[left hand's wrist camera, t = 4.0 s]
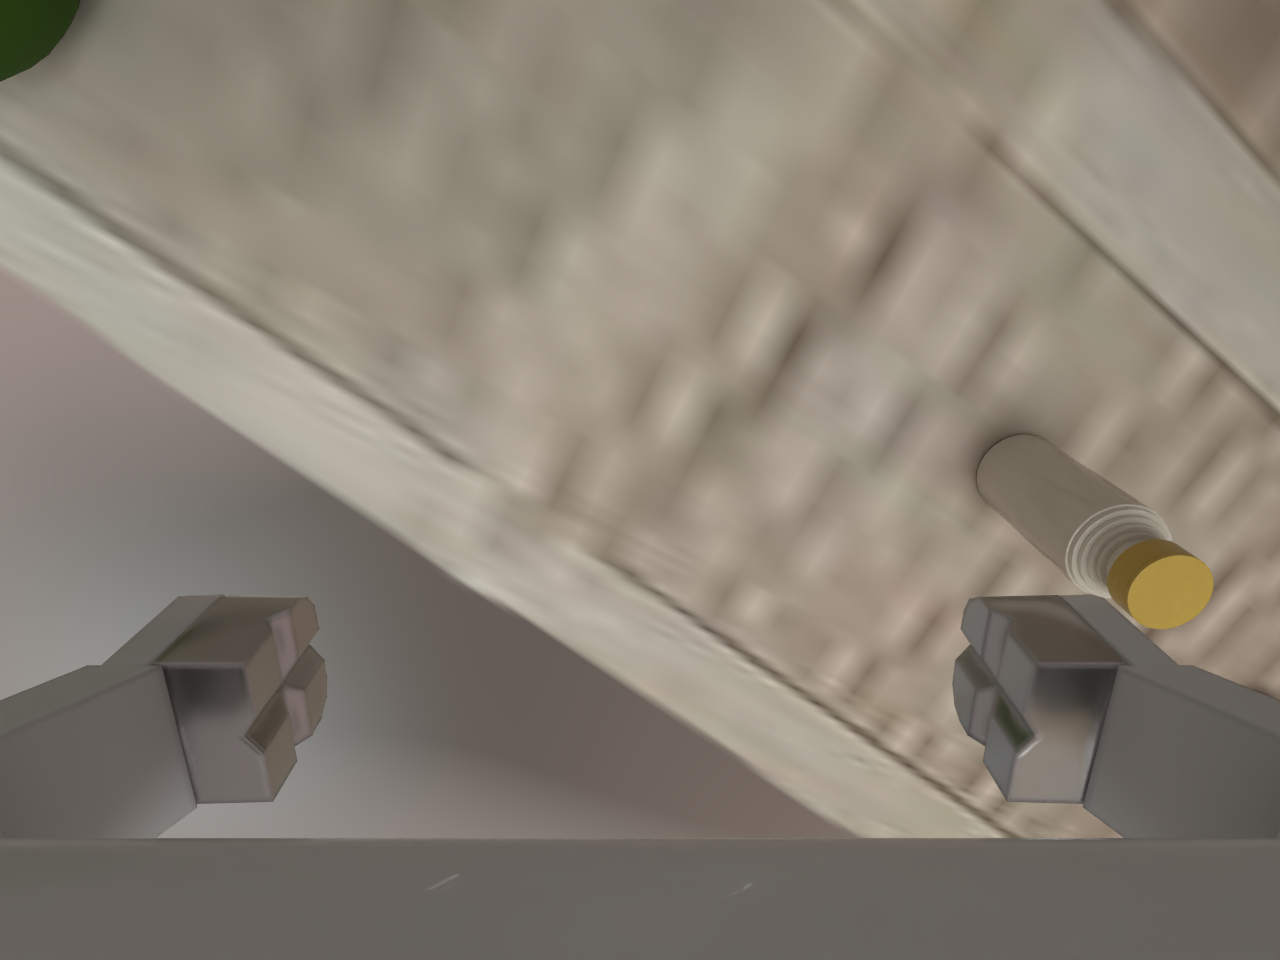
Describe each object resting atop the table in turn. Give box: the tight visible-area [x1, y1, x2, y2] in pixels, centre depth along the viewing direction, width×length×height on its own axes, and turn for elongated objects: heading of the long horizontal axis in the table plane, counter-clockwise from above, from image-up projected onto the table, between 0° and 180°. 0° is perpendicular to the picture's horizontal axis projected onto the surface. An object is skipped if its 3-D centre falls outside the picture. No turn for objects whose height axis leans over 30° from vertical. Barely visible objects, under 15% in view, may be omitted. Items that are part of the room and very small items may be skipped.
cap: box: [1107, 539, 1213, 629], centre depth 44 cm, size 4×4×2 cm
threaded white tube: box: [976, 434, 1172, 598], centre depth 52 cm, size 6×6×18 cm
